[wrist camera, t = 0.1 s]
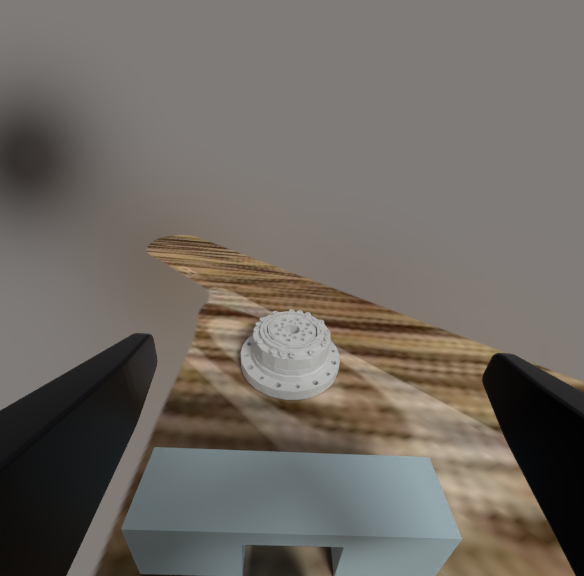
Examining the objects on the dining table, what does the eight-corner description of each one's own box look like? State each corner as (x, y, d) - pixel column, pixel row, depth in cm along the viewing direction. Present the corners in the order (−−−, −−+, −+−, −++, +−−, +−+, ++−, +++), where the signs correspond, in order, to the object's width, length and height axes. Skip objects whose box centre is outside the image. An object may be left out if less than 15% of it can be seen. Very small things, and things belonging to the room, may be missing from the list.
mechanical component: (223, 387, 28) (330, 414, 26) (221, 351, 26) (337, 377, 24) (259, 326, 37) (342, 343, 35) (260, 295, 35) (348, 311, 33)
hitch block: (431, 580, 17) (462, 539, 15) (140, 574, 16) (120, 529, 14) (407, 501, 21) (429, 457, 18) (166, 494, 20) (154, 447, 18)
